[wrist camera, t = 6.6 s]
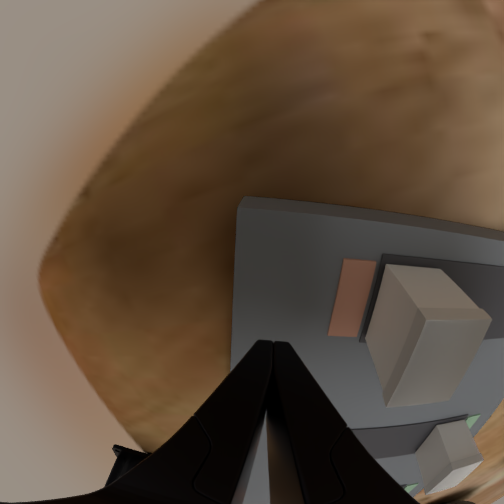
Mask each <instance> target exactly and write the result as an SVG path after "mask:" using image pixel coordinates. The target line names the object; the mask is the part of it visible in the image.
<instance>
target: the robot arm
mask: <svg viewBox="0 0 504 504" xmlns="http://www.w3.org/2000/svg"><path fill="white" fill-rule="evenodd" d="M265 415H266V432H267V452H268V471H269V491H270V504H420V503H418V502H417V501H416V500H415V499H414V498H413V497H412V496H411V495H410V494H409V493H408V492H407V491H406V490H405V489H404V488H403V487H402V486H401V485H400V484H399V483H398V482H397V481H395V480H394V479H393V478H392V477H391V475H390V474H389V473H388V472H387V471H386V470H385V469H384V468H383V467H382V466H381V465H380V464H379V463H378V462H377V461H376V460H375V459H374V458H373V457H372V455H371V454H370V453H369V452H368V451H367V450H366V448H365V447H364V446H363V445H362V443H361V442H360V441H359V439H358V438H357V437H356V435H355V434H354V433H353V431H352V430H351V428H350V427H347V426H348V425H347V423H346V422H345V420H344V419H343V418H342V416H341V415H340V413H339V412H338V411H337V409H336V408H335V406H334V405H333V404H332V402H331V401H330V399H329V398H328V397H327V395H326V394H325V392H324V391H323V390H322V388H321V387H320V385H319V384H318V383H317V381H316V380H315V378H314V377H313V375H312V374H311V373H310V371H309V370H308V368H307V367H306V365H305V364H304V363H303V361H302V360H301V358H300V357H299V355H298V354H297V353H296V351H295V350H294V348H293V347H292V345H291V344H290V343H289V342H286V341H274V343H273V341H271V340H262V339H259V340H257V341H256V342H255V343H254V345H253V346H252V347H251V348H250V349H249V351H248V352H247V353H246V354H245V355H244V357H243V358H242V359H241V360H240V361H239V363H238V364H237V365H236V366H235V367H234V369H233V370H232V371H231V372H230V373H229V374H228V376H227V377H226V378H225V379H224V380H223V381H222V383H221V384H220V385H219V386H218V387H217V388H216V390H215V391H214V392H213V393H212V394H211V395H210V396H209V398H208V399H207V400H206V401H205V402H204V403H203V404H202V405H201V407H200V408H199V409H198V410H197V411H196V412H195V413H194V416H191V417H190V419H189V420H188V421H187V422H186V423H185V424H184V425H183V426H182V427H181V428H180V429H179V430H178V431H177V432H176V433H175V434H174V435H173V436H172V437H171V438H170V439H169V440H168V441H167V442H165V443H164V444H163V445H162V446H161V447H160V448H158V449H157V450H156V451H155V452H153V453H152V454H151V455H150V454H146V453H143V452H139V451H136V450H132V449H129V448H125V447H123V446H119V445H114V446H113V448H112V449H113V451H114V453H115V455H116V456H117V459H116V461H115V463H114V466H113V468H112V470H111V473H110V475H109V477H108V480H107V482H106V484H105V487H104V488H102V489H100V490H97V491H95V492H92V493H89V494H85V495H79V496H73V497H67V498H60V499H52V500H43V501H34V502H33V501H32V502H16V503H7V502H0V504H243V501H244V497H245V494H246V490H247V486H248V483H249V479H250V475H251V472H252V468H253V464H254V460H255V457H256V453H257V449H258V445H259V441H260V437H261V433H262V429H263V425H264V420H265Z"/></svg>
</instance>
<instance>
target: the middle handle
mask: <svg viewBox="0 0 504 504" xmlns="http://www.w3.org/2000/svg"><path fill="white" fill-rule="evenodd" d="M415 454H416V458H417V461H418V465H419V468H420V472H421V475H422V479H423V483H424V491H425V495H427V494H431V493H435V492H438V491H442V490H445V489H448V488H451V487H454V486H456V485H458V484H459V483H460V482H461V481H462V480H463V479H464V478H466V477H467V476H468V475H469V474H470V473H471V472H472V471H473V470H474V469H475V468H476V467H477V466H478V465H479V464H480V463H481V462H482V461H483V460H484V459H483V457H482V454H481V453H479V450H478V448H477V446H476V443H475V441H474V439H473V436H472V434H471V432H470V430H469V428H468V425H467V423H466V421H465V419H464V420H460V421H455V422H451V423H446V424H440V425H436V427H435V428H434V429H433V431H432V432H431V433H430V435H429V436H428V437H427V439H426V440H425V441H424V442H423V444H422V445H421V446H420V447H419V448H418V450H417V451H416V452H415Z"/></svg>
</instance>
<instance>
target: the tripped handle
mask: <svg viewBox="0 0 504 504" xmlns="http://www.w3.org/2000/svg"><path fill="white" fill-rule="evenodd" d="M491 321H492V318H491V317H490V316H489V315H488V314H487V313H486V312H485V311H484V310H483V309H480V308H479V307H478V306H477V305H476V304H475V303H474V302H473V301H472V300H471V299H470V298H469V297H468V296H467V295H466V294H465V293H464V292H463V291H462V290H461V289H460V288H459V287H458V286H457V284H456V283H455V282H454V281H452V280H451V279H450V278H449V277H448V276H447V275H446V274H445V273H444V272H443V271H442V270H441V269H436V268H425V267H414V266H403V265H392V264H386V266H385V270H384V274H383V278H382V282H381V286H380V289H379V293H378V297H377V300H376V304H375V307H374V311H373V314H372V318H371V321H370V324H369V327H368V331H367V334H366V337H365V340H366V342H367V345H368V348H369V351H370V354H371V356H372V359H373V362H374V365H375V368H376V371H377V374H378V377H379V380H380V383H381V386H382V389H383V393H382V396H383V399H384V403H385V406H386V408H387V407H399V406H410V405H419V404H428V403H435V402H442V401H449V399H450V398H451V396H452V395H453V393H454V391H455V390H456V388H457V386H458V385H459V383H460V381H461V380H462V378H463V376H464V375H465V373H466V371H467V369H468V367H469V366H470V364H471V362H472V360H473V358H474V356H475V354H476V353H477V351H478V349H479V347H480V345H481V343H482V340H483V338H484V336H485V334H486V332H487V330H488V328H489V326H490V323H491Z"/></svg>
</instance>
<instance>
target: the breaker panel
mask: <svg viewBox="0 0 504 504" xmlns="http://www.w3.org/2000/svg"><path fill="white" fill-rule="evenodd" d="M386 264H392V265H403V266H414V267H425V268H436V269H441V270H442V271H443V272H444V273H445V274H446V275H447V276H448V277H449V278H450V279H451V280H452V281H454V282H455V283H456V284H457V286H458V287H459V288H460V289H461V290H462V291H463V292H464V293H465V294H466V295H467V296H468V297H469V298H470V299H471V300H472V301H473V302H474V303H475V304H476V305H477V306H478V307H479V308H480V309H483V310H484V311H485V312H486V313H487V314H488V315H489V316H490V317H491V318H492V321H491V323H490V326H489V328H488V330H487V332H486V334H485V336H484V338H483V340H482V343H481V345H480V347H479V349H478V351H477V353H476V354H475V356H474V358H473V360H472V362H471V364H470V366H469V367H468V369H467V371H466V373H465V375H464V376H463V378H462V380H461V381H460V383H459V385H458V386H457V388H456V390H455V391H454V393H453V395H452V396H451V398H450V399H449V401H442V402H435V403H428V404H419V405H410V406H399V407H387V408H386V406H385V403H384V399H383V396H382V393H383V389H382V386H381V383H380V380H379V377H378V374H377V371H376V368H375V365H374V362H373V359H372V356H371V354H370V351H369V348H368V345H367V342H366V340H365V337H366V334H367V331H368V327H369V324H370V321H371V318H372V314H373V311H374V307H375V304H376V300H377V297H378V293H379V289H380V286H381V282H382V278H383V274H384V270H385V266H386ZM259 339H262V340H271V341H273V343H274V341H286V342H289V343H290V344H291V345H292V347H293V348H294V350H295V351H296V353H297V354H298V355H299V357H300V358H301V360H302V361H303V363H304V364H305V365H306V367H307V368H308V370H309V371H310V373H311V374H312V375H313V377H314V378H315V380H316V381H317V383H318V384H319V385H320V387H321V388H322V390H323V391H324V392H325V394H326V395H327V397H328V398H329V399H330V401H331V402H332V404H333V405H334V406H335V408H336V409H337V411H338V412H339V413H340V415H341V416H342V418H343V419H344V420H345V422H346V423H347V425H348V426H347V427H350V428H351V430H352V431H353V433H354V434H355V435H356V437H357V438H358V439H359V441H360V442H361V443H362V445H363V446H364V447H365V448H366V450H367V451H368V452H369V453H370V454H371V455H372V457H373V458H374V459H375V460H376V461H377V462H378V463H379V464H380V465H381V466H382V467H383V468H384V469H385V470H386V471H387V472H388V473H389V474H390V475H391V477H392V478H393V479H394V480H395V481H397V482H398V483H399V484H400V485H401V486H402V487H403V488H404V489H405V490H406V491H407V492H408V493H409V494H410V495H411V496H412V497H414V496H415V495H416V494H417V493H419V492H420V491H421V490H422V489H423V488H424V483H423V479H422V475H421V472H420V468H419V465H418V461H417V458H416V454H415V452H416V451H417V450H418V448H419V447H420V446H421V445H422V444H423V442H424V441H425V440H426V439H427V437H428V436H429V435H430V433H431V432H432V431H433V429H434V428H435V427H436V425H440V424H446V423H451V422H455V421H460V420H464V419H465V421H466V423H467V425H468V428H469V430H470V432H471V434H472V436H473V437H474V436H475V435H476V434H477V433H478V431H479V430H480V429H481V428H482V426H483V425H484V424H485V423H486V421H487V420H488V419H489V417H490V416H491V415H492V414H493V412H494V411H495V409H496V408H497V407H498V405H499V404H500V403H501V401H502V400H503V398H504V232H502V231H497V230H492V229H487V228H482V227H477V226H472V225H467V224H462V223H456V222H451V221H445V220H439V219H433V218H427V217H421V216H415V215H408V214H402V213H395V212H388V211H381V210H374V209H366V208H359V207H351V206H342V205H334V204H325V203H316V202H307V201H297V200H287V199H276V198H264V197H252V196H244V197H243V198H242V200H241V202H240V204H239V205H238V207H237V222H236V242H235V264H234V287H233V311H232V338H231V369H230V372H231V371H232V370H233V369H234V367H235V366H236V365H237V364H238V363H239V361H240V360H241V359H242V358H243V357H244V355H245V354H246V353H247V352H248V351H249V349H250V348H251V347H252V346H253V345H254V343H255V342H256V341H257V340H259ZM243 504H270V491H269V471H268V452H267V432H266V415H265V420H264V425H263V429H262V433H261V437H260V441H259V445H258V449H257V453H256V457H255V460H254V464H253V468H252V472H251V475H250V479H249V483H248V486H247V490H246V494H245V497H244V501H243Z"/></svg>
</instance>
